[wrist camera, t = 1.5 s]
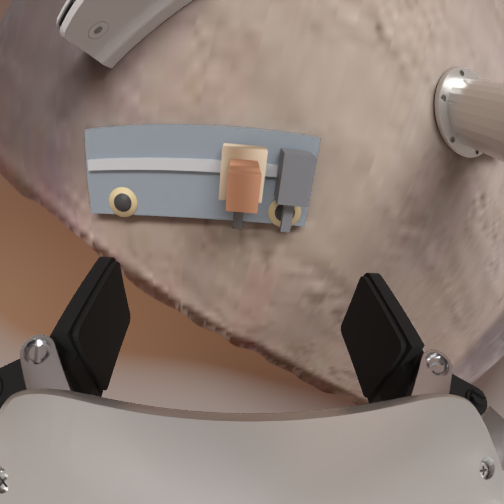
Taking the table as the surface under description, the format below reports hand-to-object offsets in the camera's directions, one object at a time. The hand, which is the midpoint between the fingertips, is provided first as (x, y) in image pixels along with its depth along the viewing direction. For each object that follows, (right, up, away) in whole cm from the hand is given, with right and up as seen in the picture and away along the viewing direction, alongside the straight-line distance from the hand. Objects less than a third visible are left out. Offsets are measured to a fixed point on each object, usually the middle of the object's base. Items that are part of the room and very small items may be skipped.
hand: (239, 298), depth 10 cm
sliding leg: (-1, +9, +17) cm, 19 cm away
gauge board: (-6, +11, +18) cm, 22 cm away
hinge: (-11, +28, +8) cm, 31 cm away
